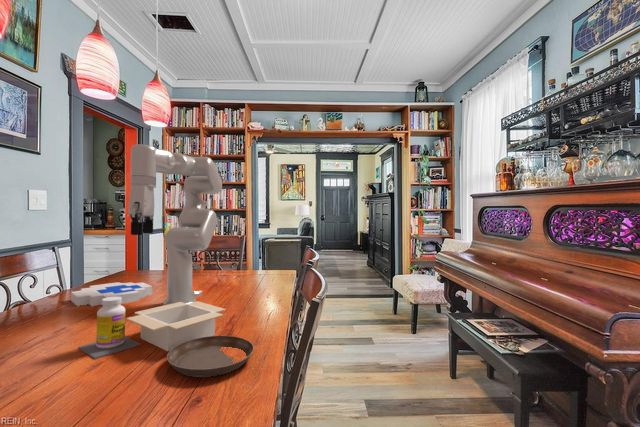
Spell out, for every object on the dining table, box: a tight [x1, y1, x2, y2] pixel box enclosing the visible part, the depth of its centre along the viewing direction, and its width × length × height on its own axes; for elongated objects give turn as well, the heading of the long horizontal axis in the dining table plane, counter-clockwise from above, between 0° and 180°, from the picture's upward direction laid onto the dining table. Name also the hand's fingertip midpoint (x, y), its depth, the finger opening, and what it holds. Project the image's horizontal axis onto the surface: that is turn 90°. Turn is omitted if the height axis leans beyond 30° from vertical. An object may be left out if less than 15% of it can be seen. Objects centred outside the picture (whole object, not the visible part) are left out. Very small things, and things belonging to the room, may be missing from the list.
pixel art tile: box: [70, 281, 153, 307], centre depth 141 cm, size 28×4×28 cm
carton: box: [126, 300, 227, 352], centre depth 96 cm, size 23×23×7 cm
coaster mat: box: [78, 335, 141, 360], centre depth 88 cm, size 11×11×1 cm
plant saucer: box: [166, 335, 255, 378], centre depth 80 cm, size 21×21×3 cm
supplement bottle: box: [95, 297, 126, 349], centre depth 89 cm, size 7×7×13 cm
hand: (142, 233), depth 106 cm, fingers open, 9 cm apart
